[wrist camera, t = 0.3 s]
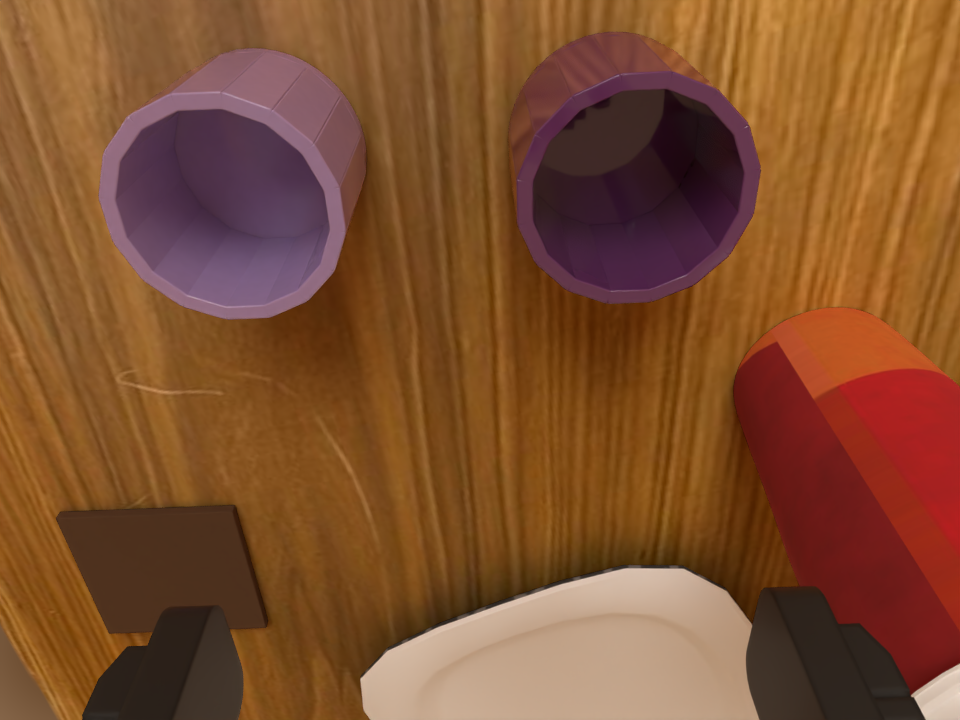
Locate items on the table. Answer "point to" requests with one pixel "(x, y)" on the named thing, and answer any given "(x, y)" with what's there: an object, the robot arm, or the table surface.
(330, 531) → the table surface
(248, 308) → the lavender faceted cup
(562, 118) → the purple faceted tumbler
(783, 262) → the table surface
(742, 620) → the plate
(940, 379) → the coffee cup
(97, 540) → the mat
